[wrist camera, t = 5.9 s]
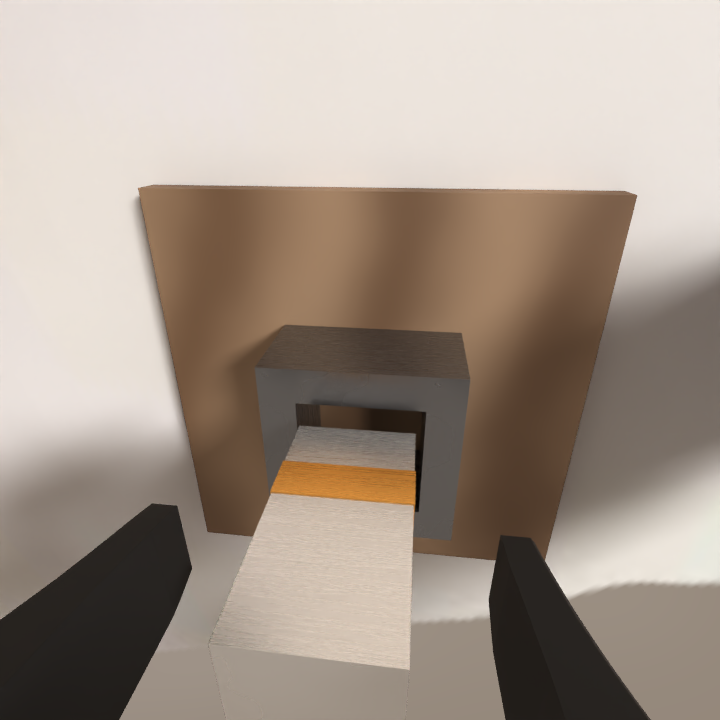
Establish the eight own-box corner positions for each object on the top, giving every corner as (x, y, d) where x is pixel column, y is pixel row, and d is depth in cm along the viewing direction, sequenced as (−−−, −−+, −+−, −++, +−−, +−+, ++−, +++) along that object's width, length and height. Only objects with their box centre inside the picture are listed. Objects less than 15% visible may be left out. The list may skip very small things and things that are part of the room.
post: (416, 433, 14) (411, 669, 8) (411, 522, 15) (402, 774, 9) (298, 424, 14) (206, 642, 8) (304, 512, 16) (231, 749, 10)
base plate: (624, 191, 15) (637, 195, 14) (538, 547, 22) (543, 565, 21) (153, 185, 17) (137, 188, 16) (215, 517, 24) (207, 532, 23)
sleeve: (461, 332, 17) (470, 379, 13) (446, 474, 19) (451, 540, 16) (284, 324, 17) (254, 367, 14) (295, 462, 20) (272, 523, 17)
